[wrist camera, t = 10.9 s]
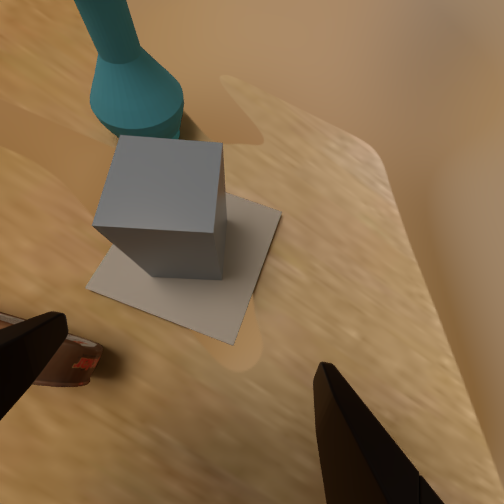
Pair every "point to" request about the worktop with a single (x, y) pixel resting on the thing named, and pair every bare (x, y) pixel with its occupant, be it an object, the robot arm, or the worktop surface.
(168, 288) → the thin square base plate
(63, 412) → the worktop surface
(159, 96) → the teal vase
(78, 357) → the tin
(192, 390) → the worktop surface
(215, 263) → the gray rectangular block
